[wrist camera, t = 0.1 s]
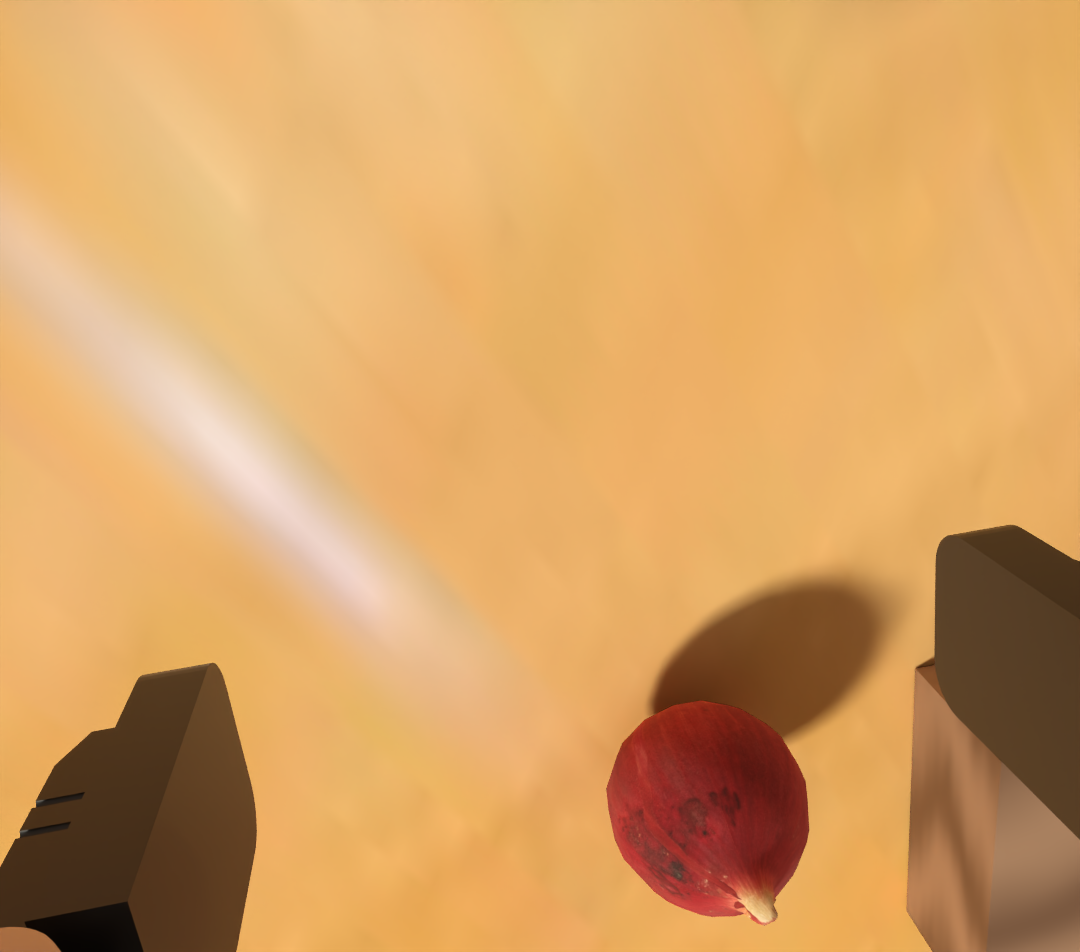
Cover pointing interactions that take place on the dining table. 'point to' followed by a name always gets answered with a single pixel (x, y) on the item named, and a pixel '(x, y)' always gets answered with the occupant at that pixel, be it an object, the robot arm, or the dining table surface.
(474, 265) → the dining table surface
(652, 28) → the dining table surface
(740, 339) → the dining table surface
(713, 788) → the onion
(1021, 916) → the walnut block
